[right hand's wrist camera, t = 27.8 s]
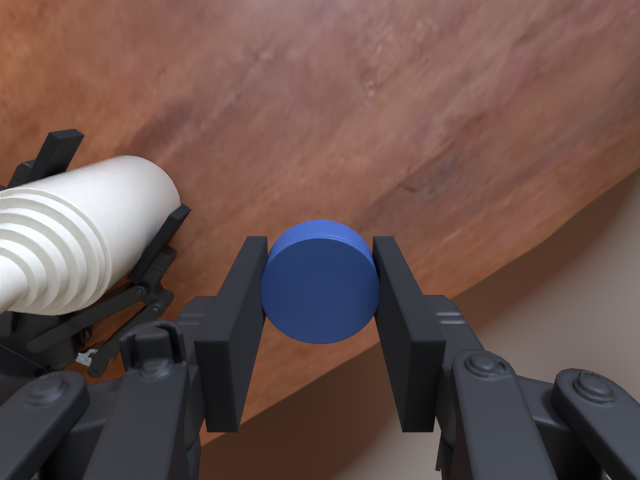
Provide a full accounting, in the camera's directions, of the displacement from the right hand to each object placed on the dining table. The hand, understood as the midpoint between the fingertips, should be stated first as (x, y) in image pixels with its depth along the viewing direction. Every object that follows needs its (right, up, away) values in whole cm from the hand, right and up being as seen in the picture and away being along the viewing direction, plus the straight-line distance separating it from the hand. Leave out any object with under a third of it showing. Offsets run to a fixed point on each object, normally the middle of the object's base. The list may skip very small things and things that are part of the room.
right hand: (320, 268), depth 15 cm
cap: (0, -1, -2) cm, 2 cm away
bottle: (-17, +5, +19) cm, 26 cm away
